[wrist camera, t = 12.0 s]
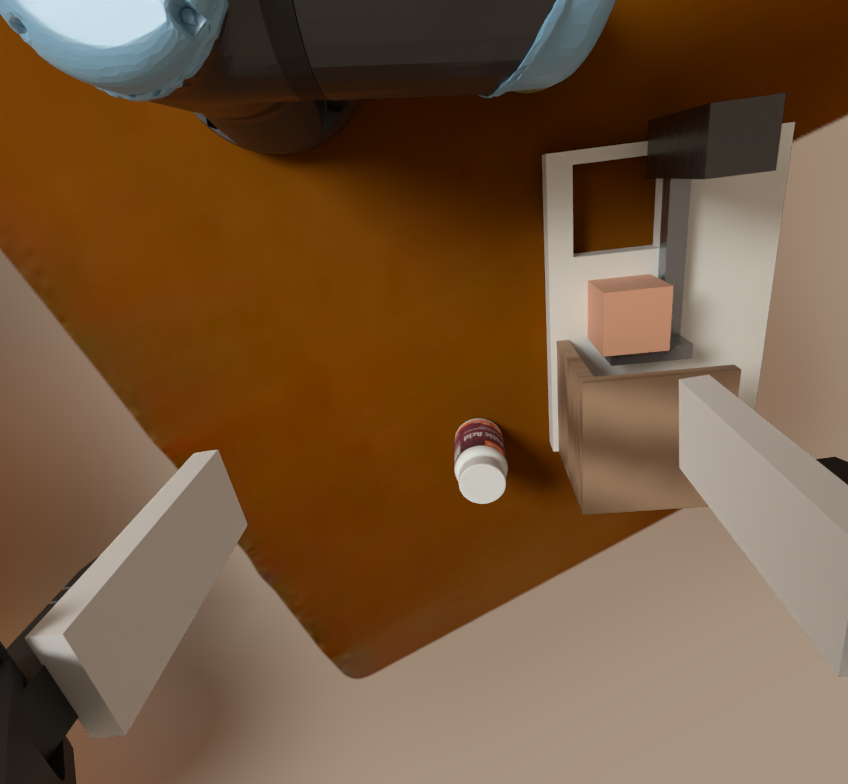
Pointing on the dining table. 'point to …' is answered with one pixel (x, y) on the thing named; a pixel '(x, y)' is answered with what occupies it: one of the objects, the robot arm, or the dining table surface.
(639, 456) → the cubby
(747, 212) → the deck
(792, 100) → the dining table surface
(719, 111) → the grey u-shaped bracket
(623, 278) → the cube
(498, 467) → the pill bottle
